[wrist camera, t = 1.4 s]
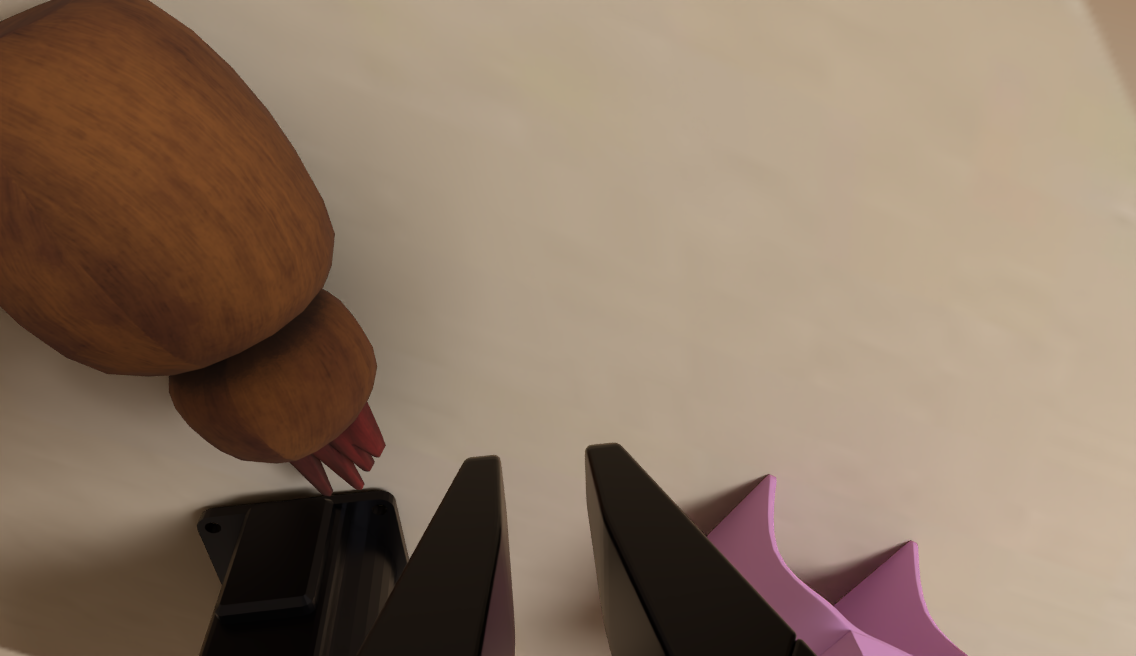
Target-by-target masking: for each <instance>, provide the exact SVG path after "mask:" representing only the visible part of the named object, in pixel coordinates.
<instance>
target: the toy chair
mask: <svg viewBox="0 0 1136 656" xmlns="http://www.w3.org/2000/svg"><path fill="white" fill-rule="evenodd" d="M775 489H776V477H774V476H772V475H770V474H769V475H767V476H766V477H765V478H764V479H763V480H762V481H761V482H760V483H759V484H758V485H757V486H756V487H755V488H754V489H753V490H752V491H751V492H750V493H749V494H748V495H747V496H746V497H745V498H744V499H743V500H742V501H741V502H740V503H739V504H738V505H737V506H736V507H735V508H734V509H733V510H732V511H731V512H730V513H729V514H728V515H727V516H726V517H725V518H724V519H723V520H722V521H721V522H720V523H719V524H718V525H717V526H716V527H715V528H714V529H713V530H712V531H711V532H710V533H709V534H708V535H707V536H706V537H707V538H708V539H709V540H710V541H711V542H712V543H713V545H714V546H715V547H716V548H717V549H718V550H719V551H720V552H721V553H722V554H723V555H724V556H725V557H726V558H727V560H728V561H729V562H730V563H731V564H732V565H733V566H734V567H735V568H736V569H737V570H738V571H739V572H740V573H741V575H742V576H743V577H744V578H745V579H746V580H747V581H748V582H749V583H750V584H751V585H752V586H753V587H754V589H755V590H756V591H757V592H758V593H759V594H760V595H761V596H762V597H763V598H764V599H765V600H766V601H767V602H768V604H769V605H770V606H771V607H772V608H773V609H774V610H775V611H776V612H777V613H778V614H779V615H780V616H781V617H782V619H783V620H784V621H785V622H786V623H787V624H788V625H789V626H790V627H791V628H792V629H793V630H794V631H795V633H796V635H797V638H796V640H797V639H802V640H803V641H804V642H805V643H806V644H807V645H808V646H809V647H810V648H811V649H812V650H813V652H814V653H815V654H816V655H817V656H968V655H966V654H965V653H964V652H963V651H961V650H960V649H959V648H958V647H957V646H955V645H954V644H953V643H952V642H951V641H950V640H949V639H948V638H947V637H946V636H945V635H944V634H943V633H942V631H941V630H940V629H939V628H938V627H937V625H936V624H935V622H934V620H933V619H932V617H931V616H930V614H929V612H928V609H927V606H926V603H925V600H924V597H923V592H922V587H921V581H920V571H919V555H918V545H917V543H915V542H913V541H909V542H908V543H907V544H905V545H904V546H903V547H902V548H901V549H899V550H898V551H897V552H896V553H895V554H894V555H892V556H891V557H890V558H889V559H888V560H887V561H885V562H884V563H883V564H882V565H881V566H880V567H878V568H877V569H876V570H875V571H874V572H872V573H871V574H870V575H869V576H868V577H867V578H865V579H864V580H863V581H862V582H861V583H860V584H858V585H857V586H856V587H855V588H854V589H853V590H851V591H850V592H849V593H848V594H847V595H845V596H844V597H843V598H842V599H841V600H840V601H838V602H837V603H836V604H835V605H834V606H832V605H831V604H830V603H829V602H828V601H826V600H825V599H824V598H823V597H821V596H820V595H819V594H817V593H816V592H815V591H813V590H812V589H811V588H809V587H808V586H807V585H806V584H805V583H803V582H802V581H801V580H800V579H799V578H798V577H797V576H796V575H795V574H794V573H793V572H792V571H791V570H790V569H789V568H788V567H787V565H786V564H785V562H784V560H783V558H782V557H781V555H780V553H779V551H778V548H777V544H776V539H775V535H774V519H773V515H774V498H775Z"/></svg>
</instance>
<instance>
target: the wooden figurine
mask: <svg viewBox="0 0 1136 656" xmlns="http://www.w3.org/2000/svg"><path fill="white" fill-rule="evenodd" d="M334 236H335V233H334V230H333V227H332V224H331V221H330V218H329V215H328V212H327V210H326V207H325V204H324V201H323V199H322V197H321V195H320V193H319V192H318V190H317V188H316V186H315V184H314V183H313V181H312V179H311V177H310V175H309V174H308V172H307V170H306V168H305V167H304V165H303V163H302V161H301V159H300V158H299V156H298V154H297V152H296V151H295V149H294V147H293V146H292V144H291V143H290V141H289V140H288V138H287V137H286V136H285V134H284V133H283V131H282V130H281V128H280V127H279V125H278V124H277V122H276V121H275V120H274V118H273V117H272V115H271V114H270V112H269V111H268V109H267V108H266V107H265V106H264V105H263V104H262V102H261V101H260V100H259V99H258V98H257V96H256V95H255V94H254V93H253V92H252V91H251V89H250V88H249V87H248V86H247V85H246V83H245V82H244V81H243V80H242V79H241V77H240V76H239V75H238V74H237V73H236V72H235V70H234V69H233V68H232V67H231V66H230V65H229V64H228V63H227V62H226V61H225V60H224V59H222V58H221V57H220V56H219V55H218V54H217V53H216V52H215V51H214V50H213V49H212V48H211V47H210V46H209V45H208V44H206V43H205V42H204V41H203V40H202V39H201V38H200V37H199V36H198V35H197V34H196V33H195V32H194V31H193V30H191V29H190V28H188V27H187V26H185V25H184V24H182V23H181V22H179V21H178V20H177V19H175V18H174V17H172V16H171V15H169V14H168V13H166V12H165V11H163V10H162V9H161V8H159V7H158V6H156V5H155V4H153V3H152V2H150V1H149V0H51V1H48V2H46V3H43V4H40V5H38V6H35V7H33V8H31V9H28V10H26V11H24V12H21V13H19V14H17V15H14V16H12V17H10V18H8V19H6V20H3V21H1V22H0V306H1V307H2V308H3V309H4V310H5V311H6V312H7V313H8V314H9V315H10V316H11V317H12V318H13V319H14V320H15V321H16V322H17V323H18V324H20V325H21V326H22V327H23V328H25V329H26V330H28V331H29V332H30V333H32V334H33V335H35V336H36V337H37V338H39V339H40V340H42V341H43V342H44V343H46V344H47V345H49V346H50V347H52V348H53V349H55V350H56V351H58V352H59V353H61V354H62V355H64V356H65V357H67V358H69V359H72V360H74V361H77V362H79V363H81V364H84V365H86V366H89V367H91V368H94V369H96V370H99V371H101V372H104V373H106V374H116V375H133V376H169V393H170V396H171V398H172V401H173V404H174V406H175V409H176V410H177V411H178V412H179V414H180V415H181V416H182V418H183V419H184V420H185V421H186V423H187V424H188V425H189V426H190V427H191V428H192V429H193V430H194V431H195V432H197V433H198V434H199V435H200V436H201V437H202V438H204V439H205V440H206V441H207V442H208V443H210V444H211V445H213V446H214V447H216V448H217V449H219V450H220V451H222V452H224V453H226V454H229V455H231V456H233V457H235V458H238V459H240V460H244V461H254V462H265V463H284V462H290V463H291V464H292V465H293V466H294V467H295V468H296V469H297V470H298V471H299V472H300V473H301V474H302V475H303V476H304V477H305V478H306V479H307V480H308V481H309V482H310V483H311V484H312V485H313V486H314V487H315V488H316V489H317V490H318V491H319V492H320V493H321V494H322V495H324V496H331V494H332V492H333V489H332V487H331V485H330V482H329V480H328V477H327V475H326V473H325V470H324V468H323V465H322V463H321V461H322V462H323V463H324V464H325V465H327V466H328V467H329V468H330V469H331V470H333V471H334V472H335V473H336V474H338V475H339V476H340V477H341V478H342V479H344V480H345V481H346V482H347V483H348V484H350V485H351V486H352V487H353V488H355V489H357V490H362V488H363V486H364V482H363V480H362V478H361V476H360V474H359V473H358V471H357V469H356V467H355V465H354V464H356V465H357V466H358V467H359V468H361V469H362V470H364V471H370V470H371V468H372V466H373V465H374V462H375V461H374V460H373V458H372V456H374V457H380V455H381V453H382V451H383V450H384V448H385V446H386V445H385V442H384V440H383V437H382V434H381V432H380V429H379V427H378V425H377V423H376V420H375V418H374V416H373V414H372V411H371V409H370V407H369V405H368V402H367V401H368V399H369V396H370V394H371V391H372V389H373V385H374V380H375V375H376V370H377V363H376V359H375V355H374V350H373V347H372V345H371V343H370V342H369V340H368V338H367V336H366V335H365V333H364V331H363V330H362V328H361V327H360V325H359V324H358V322H357V321H356V319H355V318H354V316H353V315H352V314H351V313H350V311H349V310H348V309H347V308H346V307H345V306H344V304H343V303H342V302H341V301H340V300H339V299H337V298H336V297H335V296H333V295H332V294H330V293H329V292H327V291H325V290H323V289H322V288H323V287H324V284H325V281H326V279H327V276H328V273H329V271H330V268H331V266H332V257H333V247H334ZM371 455H372V456H371ZM320 460H321V461H320Z"/></svg>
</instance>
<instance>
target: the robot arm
mask: <svg viewBox="0 0 1136 656" xmlns="http://www.w3.org/2000/svg"><path fill="white" fill-rule="evenodd" d="M585 472H586V499H587V509H588V517H589V524H590V531H591V538H592V545H593V552H594V559H595V566H596V573H597V580H598V587H599V594H600V602H601V608H602V614H603V620H604V626H605V630H606V634H607V638H608V642H609V647H610V650H611V654H612V656H817V655H816V654H815V653H814V652H813V650H812V649H811V648H810V647H809V646H808V645H807V644H806V643H805V642H804V641H803V640H802V639H797V640H796V638H797V635H796V633H795V631H794V630H793V629H792V628H791V627H790V626H789V625H788V624H787V623H786V622H785V621H784V620H783V619H782V617H781V616H780V615H779V614H778V613H777V612H776V611H775V610H774V609H773V608H772V607H771V606H770V605H769V604H768V602H767V601H766V600H765V599H764V598H763V597H762V596H761V595H760V594H759V593H758V592H757V591H756V590H755V589H754V587H753V586H752V585H751V584H750V583H749V582H748V581H747V580H746V579H745V578H744V577H743V576H742V575H741V573H740V572H739V571H738V570H737V569H736V568H735V567H734V566H733V565H732V564H731V563H730V562H729V561H728V560H727V558H726V557H725V556H724V555H723V554H722V553H721V552H720V551H719V550H718V549H717V548H716V547H715V546H714V545H713V543H712V542H711V541H710V540H709V539H708V538H707V537H706V536H705V535H704V534H703V533H702V532H701V531H700V529H699V528H698V527H697V526H696V525H695V524H694V523H693V522H692V521H691V520H690V519H689V518H688V517H687V516H686V514H685V513H684V512H683V511H682V510H681V509H680V508H679V507H678V506H677V505H676V504H675V503H674V502H673V500H672V499H671V498H670V497H669V496H668V495H667V494H666V493H665V492H664V491H663V490H662V489H661V488H660V487H659V485H658V484H657V483H656V482H655V481H654V480H653V479H652V478H651V477H650V476H649V475H648V474H647V473H646V472H645V470H644V469H643V468H642V467H641V466H640V465H639V464H638V463H637V462H636V461H635V460H634V459H633V458H632V456H631V455H630V454H629V453H628V452H627V451H626V450H625V449H624V448H623V447H622V446H621V445H620V444H618V443H605V444H595V445H589V446H588V447H587V448H586V450H585ZM378 504H379V505H384V506H383V507H381V506H377V505H378ZM213 523H217V524H213ZM197 529H198V532H199V534H200V536H201V538H202V541H203V543H204V545H205V548H206V550H207V552H208V554H209V557H210V559H211V561H212V563H213V566H214V568H215V570H216V572H217V575H218V577H219V579H220V582H221V584H222V588H221V591H220V594H219V597H218V600H217V603H216V606H215V609H214V612H213V615H212V618H211V621H210V624H209V627H208V630H207V633H206V636H205V639H204V642H203V645H202V648H201V651H200V654H199V656H515V623H514V607H513V593H512V580H511V566H510V552H509V538H508V524H507V512H506V502H505V493H504V484H503V476H502V467H501V460H500V458H499V457H498V456H497V455H489V456H479V457H470V458H468V459H466V460H465V461H464V463H463V464H462V466H461V468H460V469H459V471H458V473H457V475H456V477H455V478H454V480H453V482H452V484H451V486H450V487H449V489H448V491H447V493H446V495H445V496H444V498H443V500H442V502H441V504H440V505H439V507H438V509H437V511H436V513H435V514H434V516H433V518H432V520H431V522H430V523H429V525H428V527H427V529H426V531H425V532H424V534H423V536H422V538H421V540H420V541H419V543H418V545H417V547H416V549H415V550H414V552H413V554H412V556H411V558H410V559H409V557H408V552H407V548H406V544H405V539H404V535H403V530H402V526H401V522H400V517H399V513H398V508H397V504H396V500H395V498H394V496H393V495H392V494H391V493H389V492H386V491H372V492H362V493H353V494H343V495H334V496H324V497H315V498H306V499H296V500H287V501H277V502H268V503H258V504H249V505H240V506H230V507H221V508H212V509H208V510H206V511H204V512H203V513H202V515H201V517H200V519H199V522H198V524H197Z"/></svg>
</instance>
